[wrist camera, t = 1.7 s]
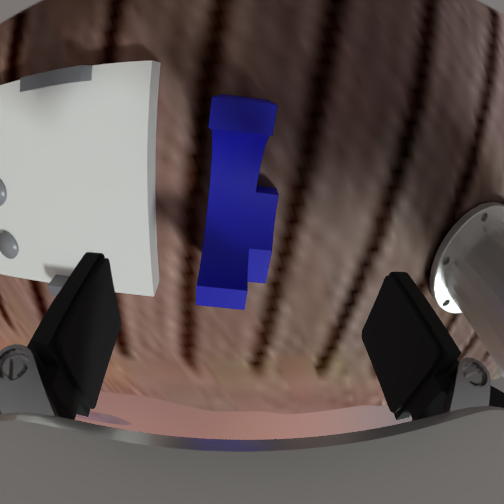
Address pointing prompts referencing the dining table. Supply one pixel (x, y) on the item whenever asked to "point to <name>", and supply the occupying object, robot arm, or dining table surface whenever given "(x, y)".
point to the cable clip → (237, 202)
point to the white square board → (80, 173)
